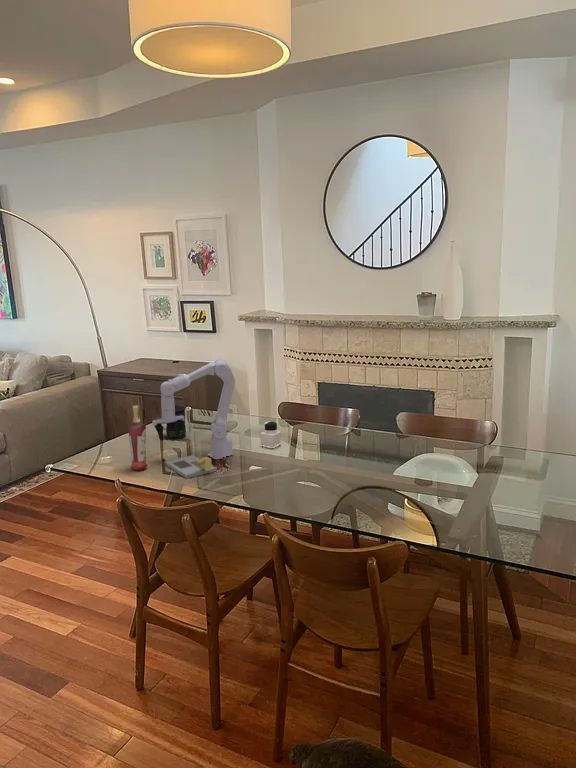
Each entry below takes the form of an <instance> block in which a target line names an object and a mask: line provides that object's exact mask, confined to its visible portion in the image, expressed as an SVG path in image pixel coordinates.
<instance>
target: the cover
mask: <svg viewBox="0 0 576 768" xmlns="http://www.w3.org/2000/svg"><path fill="white" fill-rule="evenodd" d="M178 458H179V454H178V453H177V451H175V450H174V449H167V450H163V451H162V459H163V460H165V461H169V460H174V459H178Z"/></svg>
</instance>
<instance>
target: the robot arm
mask: <svg viewBox="0 0 576 768" xmlns="http://www.w3.org/2000/svg"><path fill="white" fill-rule="evenodd" d="M207 375H210V376H215V375H216V376H217V377H219V378H220V379H221V380H222V382H223V386H222V390H221V394H220V398H219V402H218V406H217V409H216V410H217V411H216V414H215V416H214V419H213V421H212V422H211V424H210V426H209V427H210V430H211V435H210V437H209V438H210V452H209V453H207V454H206V455H207V457H209V458H211V459H214V460H220V459H224V458H227V457H226V456H229V455H230V454H233V440H232V437H231V436H230V435H228V434H227V429H226V428H227V427H226V426H227V419H228V414H229V410H230V409H229V408H230V406H231V405H230V404H231V401H232V397H233V393H234V389H235V386H236V379H235V376H234V374H233V371H232V369H231V368H230V365H229V364H228V363H227V362H226V361H225V360H223V359H219V358H218V359H215V361H210V362H209V363H207V364H205V365H203V366H201V367H200V368H198V369H196V370H194V371H192V372H190V373H189V374H187V373H186V374H185V373H182V374H181V373H179V374H178V375H177V376H176V377H174V378H171V379H167V381H163V382H162V383H161V385H160V387H159V389H160V392H161V395H160V397H161V399H160V401H161V402H160V403H161V404H160V405H161V407H160V408H161V418H157V419H154V420H152V425H153V426H154V428H155V430H156V432H157V434H158V437H159V440H160V441H164V426H163V425H165V424H166V423H170V422H174V426H175V436H176V437H179V433H180V430H181V427H182V425H183V421H184V416H175V406H176V405H175V398H174V394H175V392H178V391H181V390H183V389H185V388H187V387H189V386H190V385H191V382H193V381H195V380H198V379H200V378H202V377H204V376H207ZM223 457H224V458H223ZM229 457H230V456H229Z"/></svg>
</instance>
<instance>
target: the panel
mask: <svg viewBox="0 0 576 768" xmlns="http://www.w3.org/2000/svg"><path fill="white" fill-rule="evenodd" d="M198 459H200V458H199V457H197V456H195V455H194V454H191V455H188V456H183V457H178V459H174V460H169V461H166V460H165V461H164V465H165V467H167V468H169V469H171V470H172V471H173V472H175V473H177V474H179V476H181V477H183V478H185V479H189V478H193V477H194V478H195V477H198V476H202V475H207V474H210V473H214V472H216V469H217V468H216V467H215V466H213V465H212V470H208V471H204V470H203V469H201V463H197V462H196V460H198Z"/></svg>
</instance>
